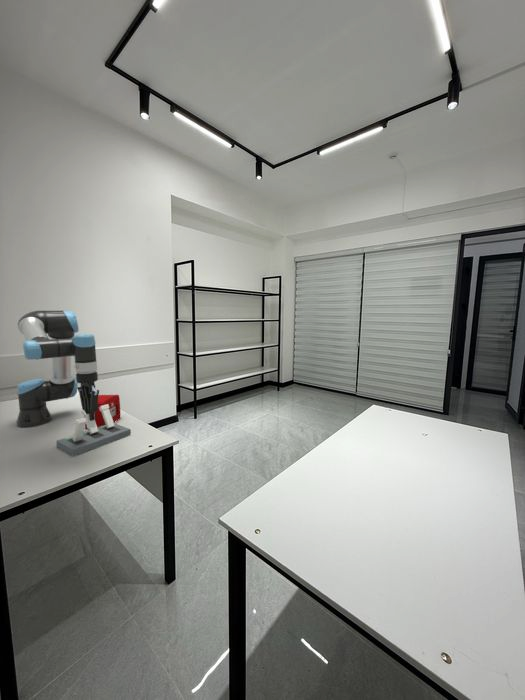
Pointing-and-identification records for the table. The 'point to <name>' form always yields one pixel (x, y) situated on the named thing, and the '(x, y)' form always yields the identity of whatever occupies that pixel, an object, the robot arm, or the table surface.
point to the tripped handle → (79, 429)
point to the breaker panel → (93, 439)
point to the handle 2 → (107, 416)
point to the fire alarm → (113, 408)
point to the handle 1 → (94, 429)
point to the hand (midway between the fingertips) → (91, 427)
